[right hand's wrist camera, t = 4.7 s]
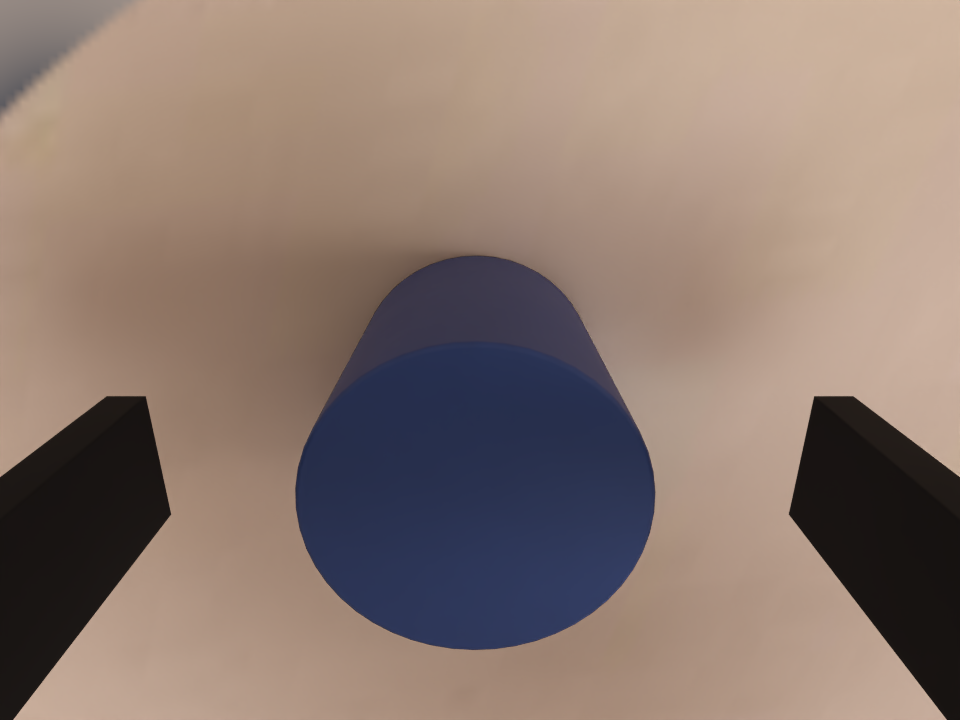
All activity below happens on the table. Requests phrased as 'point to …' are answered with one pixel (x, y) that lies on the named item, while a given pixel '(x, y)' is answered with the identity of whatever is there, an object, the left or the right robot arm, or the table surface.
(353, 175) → the table surface
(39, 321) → the table surface
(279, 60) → the table surface
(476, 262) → the can
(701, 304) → the table surface
